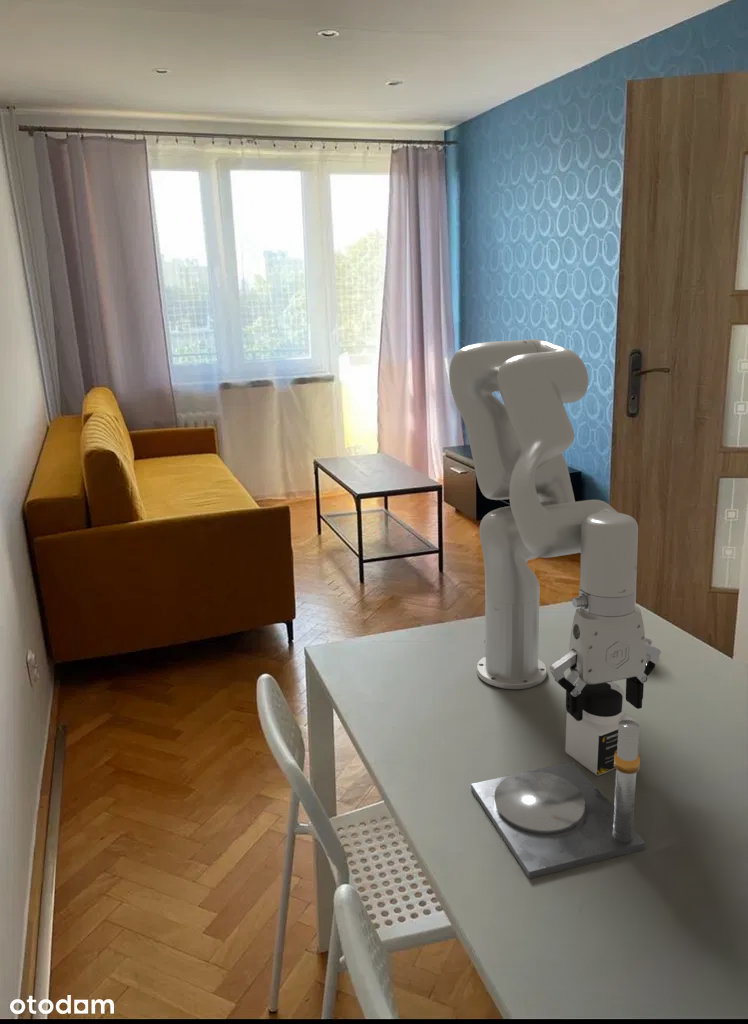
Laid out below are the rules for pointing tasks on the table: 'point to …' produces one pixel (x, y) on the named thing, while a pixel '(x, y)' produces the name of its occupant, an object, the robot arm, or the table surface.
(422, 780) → the table surface
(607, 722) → the medicine bottle
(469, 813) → the table surface
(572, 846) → the base plate with post
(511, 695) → the table surface
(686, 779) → the table surface
